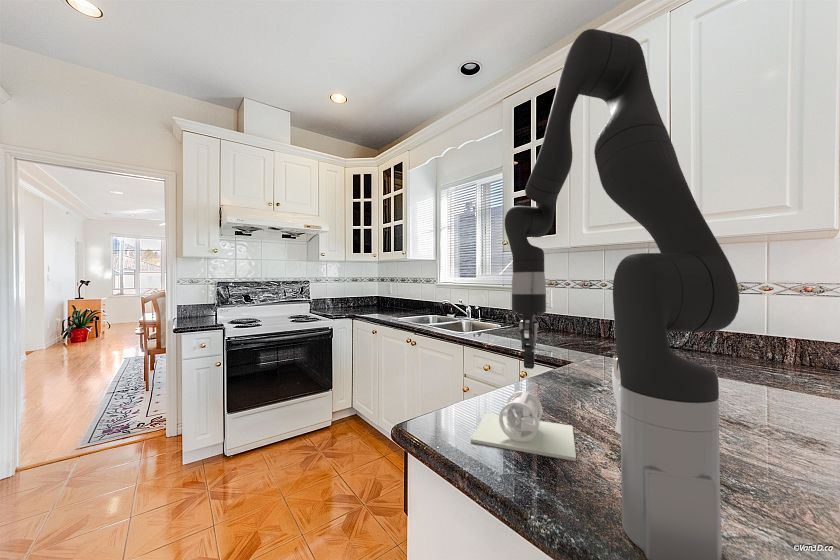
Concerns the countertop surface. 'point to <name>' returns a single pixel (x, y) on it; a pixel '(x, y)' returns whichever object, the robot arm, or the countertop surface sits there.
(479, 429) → the mat
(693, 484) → the robot arm
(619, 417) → the beer glass
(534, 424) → the white stacked pillar
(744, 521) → the countertop surface
